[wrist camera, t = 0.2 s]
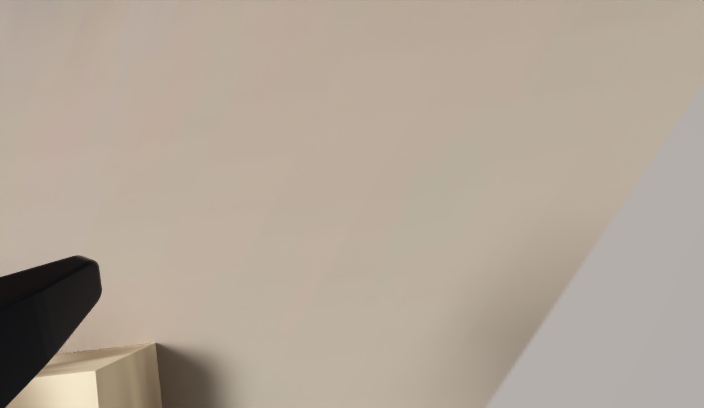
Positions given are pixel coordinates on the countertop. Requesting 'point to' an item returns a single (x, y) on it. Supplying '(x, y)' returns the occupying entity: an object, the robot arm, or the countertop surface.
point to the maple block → (96, 380)
